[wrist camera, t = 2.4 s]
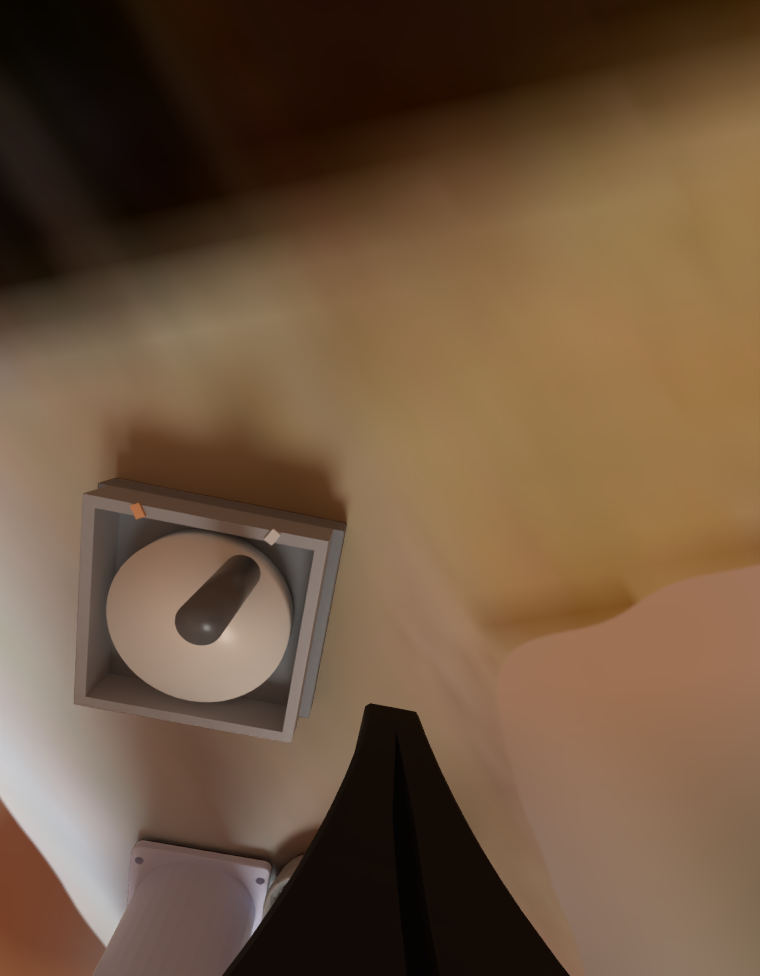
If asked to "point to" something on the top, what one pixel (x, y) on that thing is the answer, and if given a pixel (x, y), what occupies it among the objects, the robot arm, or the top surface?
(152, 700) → the dial plate
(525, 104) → the top surface
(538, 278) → the top surface
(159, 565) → the dial
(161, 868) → the robot arm
